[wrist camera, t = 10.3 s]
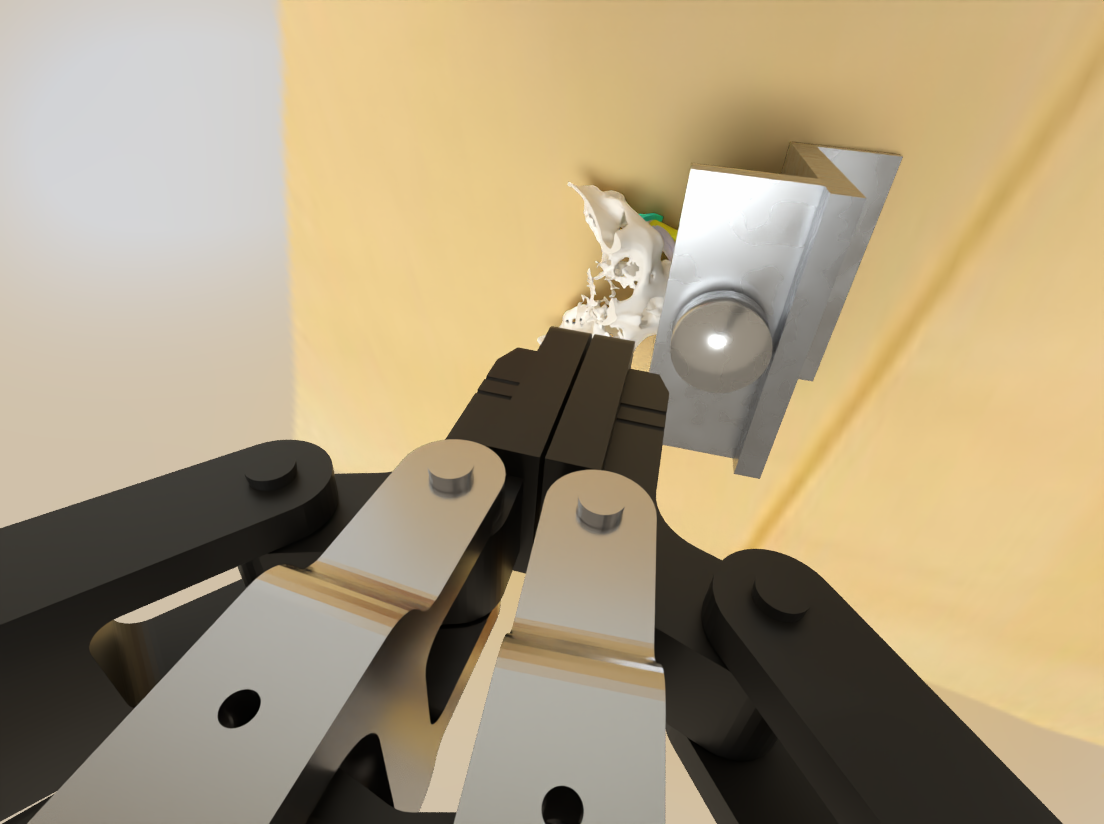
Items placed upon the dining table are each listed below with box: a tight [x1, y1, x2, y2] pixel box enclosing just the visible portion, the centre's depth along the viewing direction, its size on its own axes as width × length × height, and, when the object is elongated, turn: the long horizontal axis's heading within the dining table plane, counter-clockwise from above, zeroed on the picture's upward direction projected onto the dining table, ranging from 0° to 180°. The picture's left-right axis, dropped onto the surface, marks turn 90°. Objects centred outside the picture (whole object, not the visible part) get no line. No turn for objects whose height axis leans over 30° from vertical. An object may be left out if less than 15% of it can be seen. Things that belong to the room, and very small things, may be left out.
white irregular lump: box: [537, 182, 678, 351], centre depth 40 cm, size 12×9×10 cm
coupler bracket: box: [649, 142, 903, 479], centre depth 34 cm, size 16×12×14 cm
